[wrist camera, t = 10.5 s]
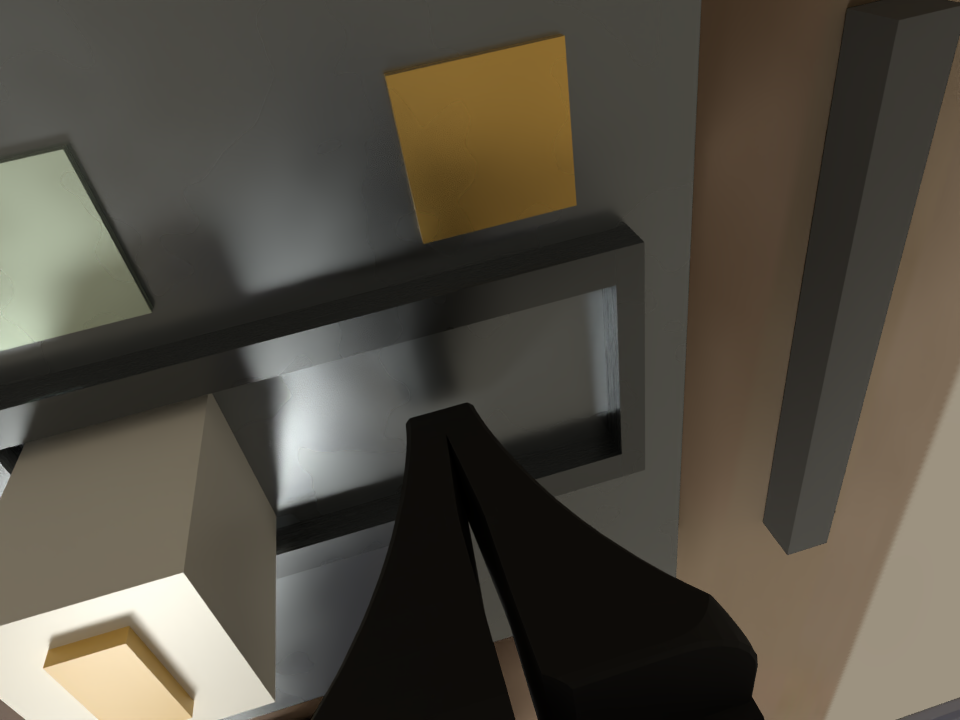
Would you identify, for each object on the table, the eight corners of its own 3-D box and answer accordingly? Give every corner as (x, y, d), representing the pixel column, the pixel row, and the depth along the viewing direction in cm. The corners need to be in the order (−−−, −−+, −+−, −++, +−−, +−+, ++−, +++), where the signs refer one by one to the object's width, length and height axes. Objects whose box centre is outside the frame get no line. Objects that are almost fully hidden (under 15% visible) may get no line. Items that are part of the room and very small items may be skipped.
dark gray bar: (800, 511, 23) (826, 542, 22) (762, 522, 23) (787, 555, 22) (911, -6, 13) (967, 3, 12) (847, 8, 13) (899, 20, 12)
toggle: (276, 516, 16) (275, 718, 12) (126, 559, 15) (75, 781, 12) (208, 387, 13) (180, 590, 10) (28, 435, 13) (-76, 664, 9)
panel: (659, 554, 23) (687, 605, 21) (181, 703, 21) (173, 769, 19) (672, -222, 10) (742, -241, 9) (-453, -9, 9) (-613, 15, 7)
